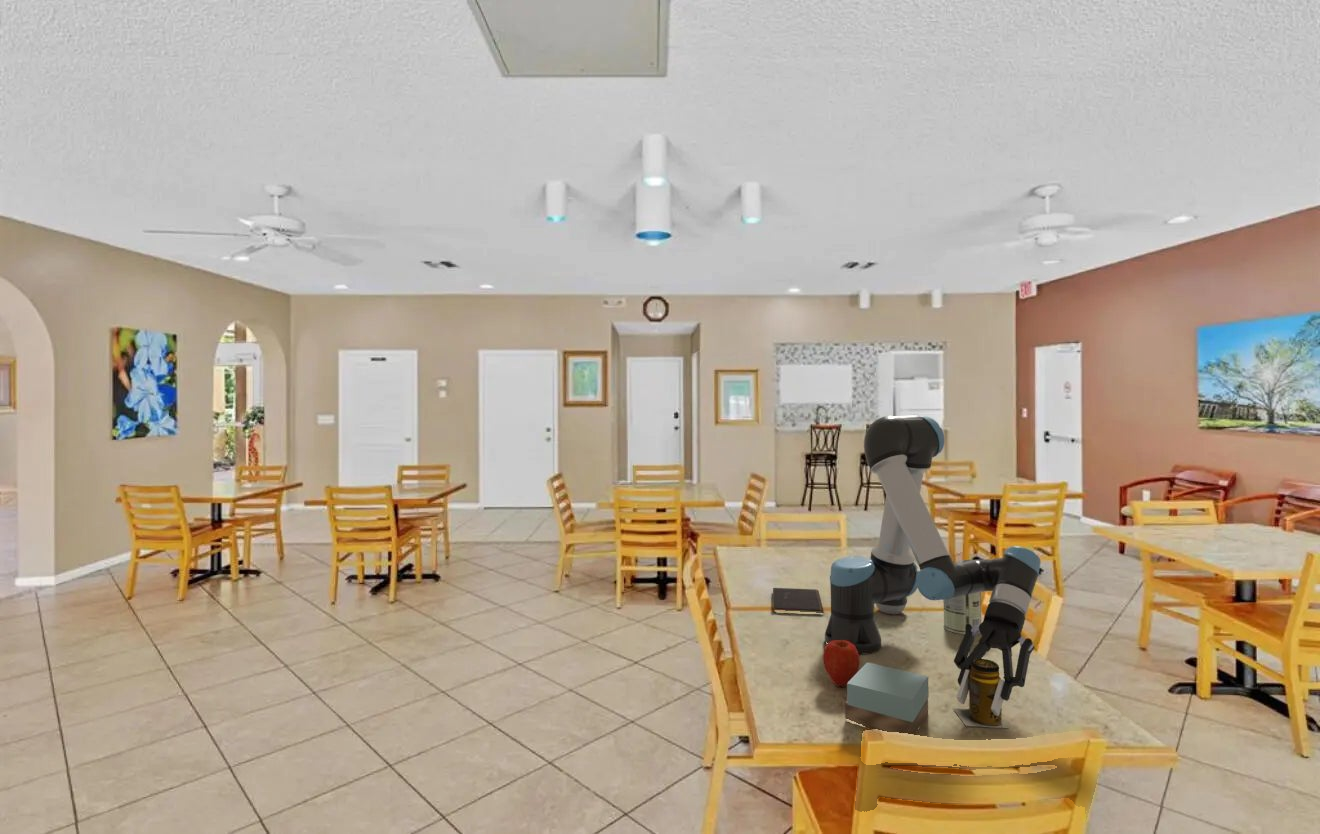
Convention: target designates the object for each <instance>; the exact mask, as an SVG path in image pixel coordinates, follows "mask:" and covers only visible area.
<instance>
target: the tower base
mask: <svg viewBox="0 0 1320 834" xmlns="http://www.w3.org/2000/svg"><path fill="white" fill-rule="evenodd" d="M928 717H929V698H928V699H927V700H926V702H925V704H924V705H923V707H922V708H921V710H920V712H919V713H918V715H917V716H916V718H915V719H914V721H913V722H909V721H905V720H902V719H898V718H894V717H891V716H887V715H883V714H880V713H876V712H872V711H869V710H865V709H861V708H858V707H854V706H850V705H847V700H846V701H845V702H844V719H845V718H846V719H849V720H851V721H854V722H856V723H858V724H862V725H863V726H865V727H866V728H865V729H867V728H869V729H868V730H870V729H878V730H882V731H887V732H899V733H908V734H914V735H915V734H917V732H918V730H919V729H920V728H919V727H922V725H923V724H924V723H925V721H926V720H927V718H928ZM918 728H919V729H918ZM916 731H917V732H916Z"/></svg>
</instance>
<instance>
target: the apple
mask: <svg viewBox="0 0 1320 834" xmlns="http://www.w3.org/2000/svg"><path fill="white" fill-rule="evenodd" d="M860 658H861V657H860V654H858V651H857V649H856V647H855V645H853V644H852V643H851V642H849V641H845V640H833V641H831V642H829V643H828V644H827V645H825V648H824V650H823V654H822V662H823V667H824V669H825V671H826V672H827V674H828V677H829V678H830V680H831V681H832V682H833V684H834V685H835V684H836V685H838V686H837V687H839V686H842V687H847V686H846V685H847V683H848V682H849V681H850V680H851V679H852V678H853V677H854V675H855V674H856V673H857V672H858V671H859V670H860V669H859V667H860V664H861V663H860ZM836 685H835V686H836Z"/></svg>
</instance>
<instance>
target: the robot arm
mask: <svg viewBox="0 0 1320 834" xmlns="http://www.w3.org/2000/svg"><path fill="white" fill-rule="evenodd" d="M944 447H945V435H944V432H943V429H942V427H941V426H940V424H939V422H938V421H936V420H935V419H933V418H932V417H930V416H925V415H917V414H916V415H915V414H913V415H912V414H911V415H898V416H896V415H894V416H893V415H886V416H882V417H879V418H877V419H875V420H874V421H873V422H872V423H871V424H870V425H869V426H868V427H867V429H866V431H865V435H864V439H863V451H864V452H863V453H864V455H865V459H866V462H867V464H868V467H869V470H870V471H871V472H872V473H873V474H876V475H877V477H878V479H879V481H880V484H881V486H882V488H883V490H884V493H885V494H886V495H885V502H884V505H883V506H884V507H883V513H882V520H881V526H880V532H879V537H878V538H879V539H878V545H876V546H874V547H872V548H871V551H870V558H869V557H864V556H846V557H842V558H841V557H840V558H839V559H836V560H835V561H834V562H833V563H832V564H831V566H830V575H829V582H830V587H829V588H830V617H829V620H828V623H827V626H826V628H825V632H824V642H825V641H826V642H827V643H829V642H831V641H833V640H845V641H849V642H851V643H852V644H853V645H855V647H856V649H857V651H858V653H869V654H873V652H874V653H877V652H878V651H880V650H881V649H882V636H881V634H880V631H879V627H878V625H877V622H876V618H875V605H876V603H881V602H886V601H891V600H900V599H903V598H905V597H907V598H908V597H911V596H912V595H913V594H914V593H916V591H917V590H918V592H919V593H920V595H922V596H923V597H924V598H925V599H927V600H929V601H941V600H942V601H943V600H945V599H946V600H947V599H950V598H953V597H958V596H962V595H968V594H973V593H978V592H981V593H982V592H983V593H984V592H991V595H990V597H989V601H988V602H989V603H988V605H987V607H986V610H985V613H984V616H983V621H981V624H980V625H979V626H971V625H970V624H966V626H965V635H964V634H963V637H962V640H961V643H960V645H959V646H958V649H957V652H956V654H955V656H954V659H953V663H954V664H955V666H956V667H957V668H958V670H960V671H959V673H958V678H957V684H958V685H959V689H958V692H957V695H956V699H957V700H958V702H959V704H961V705H965V704H966V701H967V697H968V696H969V674H970V672H971V662H972V660H974V659H983V657H984V656H985V655H986V654H987V653H988V652H989V651H991V649H997V650H999V651H1001V655H1002V666H1003V667H1002V668H1003V679H999V683H998V686H997V690H996V693H995V696H994V700H993V703H992V706H991V710H992V711H993V713H994V715H996V716H999V714H1000V710H1001V708H1003V703H1004V701H1006V702H1008V701H1009V700H1010V696H1011V693H1012V691H1013V690H1012V689H1013V688H1014V687H1019V688H1023V687H1024V686H1025V683H1026V678H1027V672H1028V666H1029V662H1030V658H1031V657H1030V656H1031V654H1032V652H1034V649H1035V647H1036V646H1035V644H1034V642H1033V640H1032V639H1031V638H1028V637H1027V638H1025V637H1023V636H1022V631H1023V628H1024V625H1025V622H1026V616H1027V614H1028V610H1029V607H1030V604H1031V600H1032V597H1033V592H1034V590H1035V587H1036V583H1037V580H1038V577H1039V576H1040V569H1041V559H1040V556H1038V555H1037V553H1035V551H1033V550H1032V549H1029V548H1027V547H1023V546H1020V545H1019V546H1018V545H1013V546H1010V547H1007V549H1005V551H1004V553H1003V556H1002V557H998V558H997V557H996V558H988V559H987V558H986V559H983V558H982V559H966V560H961V561H957V562H954V561H953V559H952V557H951V555H950V553H949V552H948V549H947V547H946V545H945V542H944V540H943V539H942V536H941V534H940V532H939V531H938V528H937V526H936V524H935V522H934V520H933V518H932V516H931V514H930V512H929V509H928V507H927V505H926V503H925V501H924V499H923V497H922V495H921V489H922V483H923V479H924V478H923V477H924V473H925V472H927V471H928V470H930V469H931V468H932V467H931V466H932V462H933V458H935V457H937V456H938V455H939V454H940V453H942V451H943V449H944ZM910 551H911V552H912V554H913V555H912V554H911V552H910ZM915 560H916V562H915ZM916 563H917V564H918V565H917V564H916ZM918 566H919V567H918ZM918 568H919V571H918ZM979 632H980V633H979ZM978 633H979V634H980V635H981V637H980V638H979V640H978V643H977V644H976V646H975V647H974V648H973V650H972V651H971V649H972V647H973V644H974V642H975V638H977V636H978V635H979V634H978ZM1018 644H1019V645H1020V648H1019V654H1018V659H1017V665H1016V670H1015V675H1014V669H1013V659H1012V656H1013V652H1012V648H1013V647H1015V646H1017V645H1018Z"/></svg>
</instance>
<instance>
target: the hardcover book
mask: <svg viewBox="0 0 1320 834" xmlns="http://www.w3.org/2000/svg"><path fill="white" fill-rule="evenodd" d="M821 599H822V598H821V596H820V591H819V590H818V589H814V588H813V589H812V588H811V589H810V588H809V589H808V588H791V587H789V588H787V587H773V588H772V610H773V611H774V610H785V611H800V612H816V613H824V614H825V611H824V607H823V603H822V600H821Z"/></svg>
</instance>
